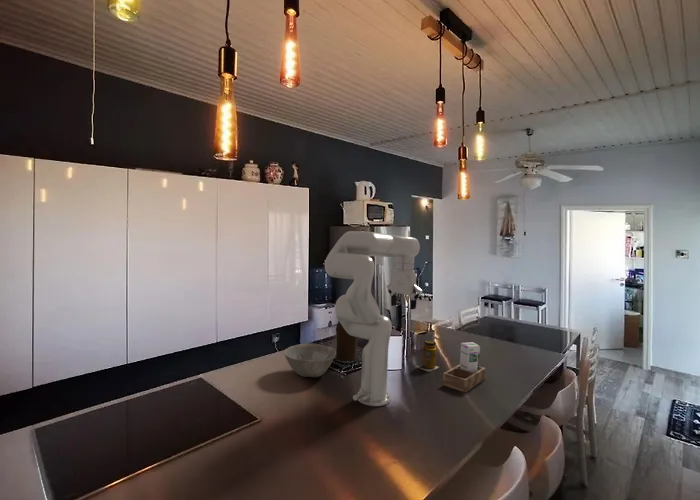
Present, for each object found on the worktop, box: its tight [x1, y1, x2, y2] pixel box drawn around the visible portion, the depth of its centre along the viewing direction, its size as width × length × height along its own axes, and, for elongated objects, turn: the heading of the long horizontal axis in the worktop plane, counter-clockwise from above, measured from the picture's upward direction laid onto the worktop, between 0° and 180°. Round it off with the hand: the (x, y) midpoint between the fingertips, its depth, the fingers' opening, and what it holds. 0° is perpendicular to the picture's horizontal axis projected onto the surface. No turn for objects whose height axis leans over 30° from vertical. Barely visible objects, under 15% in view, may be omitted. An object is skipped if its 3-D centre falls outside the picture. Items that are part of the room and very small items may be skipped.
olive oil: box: [335, 321, 358, 361], centre depth 180 cm, size 11×11×25 cm
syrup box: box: [459, 341, 481, 373], centre depth 162 cm, size 6×6×14 cm
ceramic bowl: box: [283, 343, 336, 378], centre depth 162 cm, size 22×23×10 cm
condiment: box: [415, 339, 440, 372], centre depth 175 cm, size 7×8×12 cm
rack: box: [442, 363, 487, 393], centre depth 159 cm, size 19×10×5 cm, turn 138°
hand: (403, 307), depth 161 cm, fingers open, 9 cm apart
